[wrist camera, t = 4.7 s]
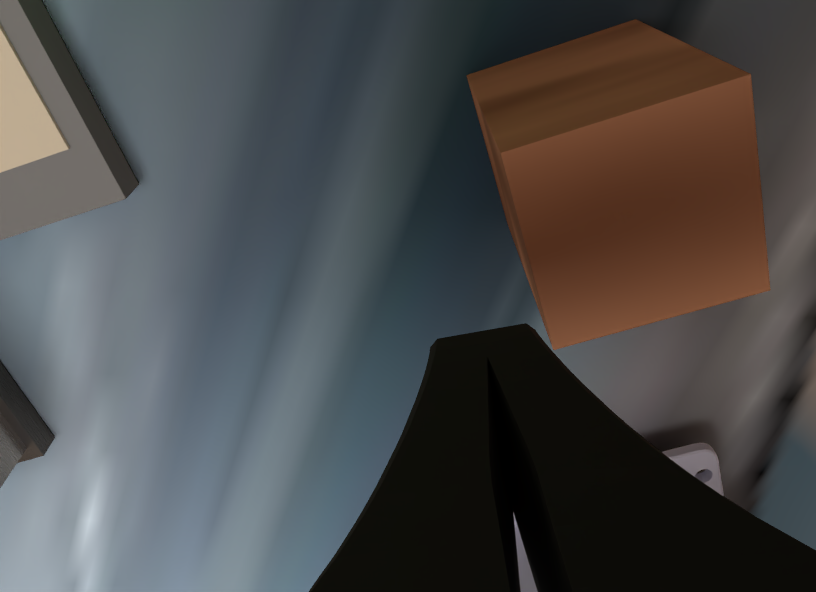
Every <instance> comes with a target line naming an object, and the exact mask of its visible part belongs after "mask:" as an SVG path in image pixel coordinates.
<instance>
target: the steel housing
mask: <svg viewBox="0 0 816 592" xmlns="http://www.w3.org/2000/svg"><path fill="white" fill-rule="evenodd" d="M54 438H55V437H54V436H53V434H52V433H51V432H50V430H49V429H48V427H47V426H46V425H45V423H44V422H43V421H42V419H41V418H40V416H39V415H38V414H37V412H36V411H35V409H34V408H33V407H32V405H31V404H30V402H29V401H28V400H27V398H26V397H25V395H24V394H23V393H22V391H21V390H20V389H19V387H18V386H17V384H16V383H15V382H14V380H13V379H12V377H11V376H10V375H9V373H8V372H7V370H6V369H5V368H4V366H3V365H2V363H1V362H0V488H1V486H2V485H3V483H4V482H5V480H6V479H7V477H8V476H9V474H10V473H11V471H12V470H13V468H14V467H15V465H16V464H17V463H19V462H23V461H26V460H30V459H33V458H37V457H40V456H44V454H45V453H46V451H47V449H48V448H49V446H50V445H51V443H52V441H53V440H54Z"/></svg>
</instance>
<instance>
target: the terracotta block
mask: <svg viewBox="0 0 816 592" xmlns="http://www.w3.org/2000/svg"><path fill="white" fill-rule="evenodd" d="M467 79H468V83H469V86H470V90H471V93H472V97H473V101H474V104H475V108H476V111H477V115H478V119H479V122H480V126H481V129H482V133H483V137H484V140H485V144H486V148H487V151H488V155H489V158H490V162H491V166H492V169H493V173H494V176H495V180H496V184H497V187H498V191H499V194H500V198H501V202H502V205H503V209H504V212H505V216H506V220H507V223H508V226H509V229H510V232H511V235H512V237H513V240H514V243H515V246H516V248H517V251H518V254H519V257H520V259H521V262H522V265H523V268H524V270H525V273H526V276H527V279H528V281H529V284H530V287H531V290H532V292H533V295H534V298H535V301H536V303H537V306H538V309H539V311H540V314H541V317H542V320H543V322H544V325H545V328H546V331H547V333H548V336H549V339H550V342H551V344H552V347H553V350H556V349H559V348H563V347H566V346H570V345H574V344H577V343H581V342H585V341H588V340H592V339H595V338H599V337H603V336H606V335H610V334H614V333H617V332H621V331H624V330H628V329H632V328H635V327H639V326H642V325H646V324H650V323H653V322H657V321H661V320H664V319H668V318H671V317H675V316H679V315H682V314H686V313H690V312H693V311H697V310H700V309H704V308H708V307H711V306H715V305H719V304H722V303H726V302H729V301H733V300H737V299H740V298H744V297H748V296H751V295H755V294H758V293H762V292H766V291H769V290H770V281H769V270H768V259H767V248H766V237H765V226H764V214H763V203H762V192H761V181H760V170H759V159H758V148H757V137H756V126H755V115H754V104H753V93H752V82H751V74H749V73H747V72H745V71H743V70H741V69H739V68H737V67H735V66H733V65H731V64H728V63H726V62H724V61H722V60H720V59H718V58H716V57H714V56H712V55H710V54H708V53H705V52H703V51H701V50H699V49H697V48H695V47H693V46H691V45H689V44H687V43H684V42H682V41H680V40H678V39H676V38H674V37H672V36H670V35H668V34H666V33H663V32H661V31H659V30H657V29H655V28H653V27H651V26H649V25H647V24H645V23H643V22H640V21H638V20H636V19H635V20H632V21H629V22H626V23H623V24H620V25H617V26H614V27H611V28H608V29H604V30H601V31H598V32H595V33H592V34H589V35H586V36H583V37H580V38H577V39H574V40H571V41H568V42H565V43H562V44H559V45H556V46H553V47H550V48H547V49H544V50H541V51H538V52H535V53H532V54H529V55H526V56H523V57H520V58H517V59H514V60H511V61H508V62H505V63H502V64H499V65H496V66H493V67H490V68H487V69H484V70H481V71H478V72H475V73H472V74H469V75H467Z"/></svg>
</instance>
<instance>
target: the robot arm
mask: <svg viewBox="0 0 816 592" xmlns="http://www.w3.org/2000/svg"><path fill="white" fill-rule="evenodd" d="M703 469H706V470H705V471H704V472H701V473H697V472H698V471H700V470H703ZM309 592H816V550H814V549H812V548H810V547H809V546H807V545H805V544H803V543H801V542H800V541H798V540H796V539H794V538H792V537H791V536H789V535H787V534H785V533H784V532H782V531H780V530H778V529H777V528H775V527H773V526H771V525H769V524H768V523H766V522H764V521H762V520H761V519H759V518H757V517H755V516H754V515H752V514H751V513H749V512H747V511H746V510H744V509H743V508H741V507H740V506H738V505H736V504H735V503H733V502H732V501H730V500H728V499H727V498H725V497H724V493H723V487H722V480H721V473H720V467H719V460H718V457H717V454H716V453H715V451H714V449H713V448H712V447H711V446H710V445H709V444H706V443H694V444H690V445H686V446H682V447H678V448H674V449H670V450H667V451H663V452H661V451H659V450H658V449H657V448H655V447H654V446H653V445H652V444H651V443H649V442H648V441H647V440H646V439H644V438H643V437H642V436H641V435H640V434H638V433H637V432H636V431H635V430H633V429H632V428H631V427H630V426H629V425H627V424H626V423H625V422H624V421H623V420H622V419H621V418H619V417H618V416H617V415H616V414H615V413H614V412H613V411H611V410H610V409H609V408H608V407H607V406H606V405H605V404H604V403H603V402H602V401H601V400H600V399H599V398H598V397H596V396H595V395H594V394H593V393H592V392H591V391H590V390H589V389H588V388H587V387H586V386H585V385H584V384H583V383H582V382H581V381H580V380H579V379H578V378H577V377H576V376H575V375H574V374H573V373H572V372H571V371H570V370H569V369H568V368H567V367H566V366H565V365H564V364H563V363H562V362H561V360H560V359H559V358H558V357H557V356H556V355H555V354H554V353H553V352H552V350H551V349H550V348H549V347H548V346H547V345H546V343H545V342H544V341H543V340H542V338H541V337H540V336H539V335H538V333H537V332H536V330H535V329H533V328H532V327H530V326H529V325H528V324H520V325H514V326H508V327H503V328H497V329H491V330H485V331H480V332H474V333H468V334H462V335H457V336H451V337H445V338H440V339H437V340H436V341H435V342H434V344H433V345H432V346H431V347H430V354H429V359H428V363H427V367H426V370H425V374H424V377H423V380H422V383H421V386H420V389H419V392H418V395H417V398H416V400H415V403H414V405H413V408H412V410H411V413H410V415H409V418H408V420H407V423H406V425H405V427H404V430H403V432H402V435H401V437H400V439H399V441H398V444H397V446H396V448H395V450H394V452H393V454H392V456H391V458H390V460H389V462H388V464H387V466H386V468H385V470H384V472H383V474H382V476H381V478H380V480H379V482H378V484H377V486H376V488H375V490H374V491H373V493H372V495H371V497H370V498H369V500H368V502H367V504H366V506H365V507H364V509H363V511H362V512H361V514H360V516H359V517H358V519H357V521H356V523H355V524H354V526H353V527H352V529H351V530H350V532H349V534H348V535H347V537H346V538H345V540H344V541H343V543H342V545H341V546H340V548H339V549H338V551H337V552H336V554H335V555H334V557H333V558H332V560H331V561H330V562H329V564H328V565H327V567H326V568H325V569H324V571H323V572H322V574H321V575H320V576H319V578H318V579H317V581H316V582H315V583H314V585H313V586H312V588H311V589H310V591H309Z"/></svg>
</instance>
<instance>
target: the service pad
mask: <svg viewBox="0 0 816 592" xmlns="http://www.w3.org/2000/svg"><path fill="white" fill-rule="evenodd" d="M138 185H139V184H138V182H137V180H136V178H135V176H134V174H133V172H132V171H131V169H130V167H129V165H128V163H127V161H126V159H125V157H124V155H123V154H122V152H121V150H120V148H119V146H118V144H117V142H116V140H115V138H114V137H113V135H112V133H111V131H110V129H109V127H108V125H107V123H106V121H105V120H104V118H103V116H102V114H101V112H100V110H99V108H98V106H97V105H96V103H95V101H94V99H93V97H92V95H91V93H90V91H89V89H88V88H87V86H86V84H85V82H84V80H83V78H82V76H81V74H80V72H79V71H78V69H77V67H76V65H75V63H74V61H73V59H72V57H71V55H70V54H69V52H68V50H67V48H66V46H65V44H64V42H63V40H62V39H61V37H60V35H59V33H58V31H57V29H56V27H55V25H54V23H53V22H52V20H51V18H50V16H49V14H48V12H47V10H46V8H45V6H44V5H43V3H42V1H41V0H0V240H2V239H5V238H8V237H11V236H14V235H17V234H21V233H24V232H27V231H30V230H33V229H36V228H39V227H42V226H45V225H48V224H51V223H54V222H57V221H60V220H63V219H66V218H69V217H72V216H75V215H78V214H81V213H84V212H87V211H90V210H93V209H96V208H99V207H103V206H106V205H109V204H112V203H115V202H118V201H121V200H124V199H126V198H127V197H128V196H129V195H130V194H131V193H132V191H133V190H134V189H135V188H136V187H137V186H138Z"/></svg>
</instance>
